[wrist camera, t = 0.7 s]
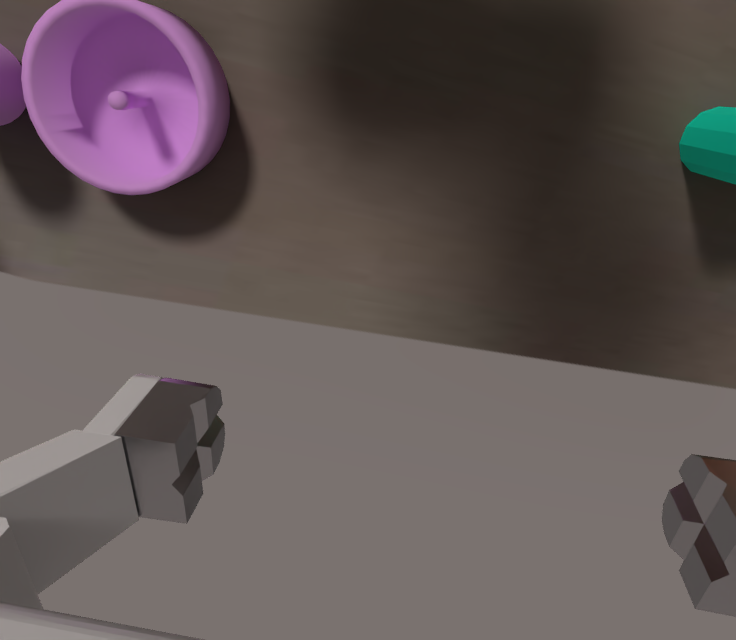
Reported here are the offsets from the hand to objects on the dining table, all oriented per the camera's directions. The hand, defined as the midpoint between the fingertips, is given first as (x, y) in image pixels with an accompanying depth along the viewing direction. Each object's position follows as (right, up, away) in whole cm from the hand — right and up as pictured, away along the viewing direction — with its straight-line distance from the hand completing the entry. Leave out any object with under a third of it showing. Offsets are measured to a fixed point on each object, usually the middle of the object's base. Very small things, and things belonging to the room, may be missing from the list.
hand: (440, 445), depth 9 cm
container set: (-27, +23, +40) cm, 53 cm away
